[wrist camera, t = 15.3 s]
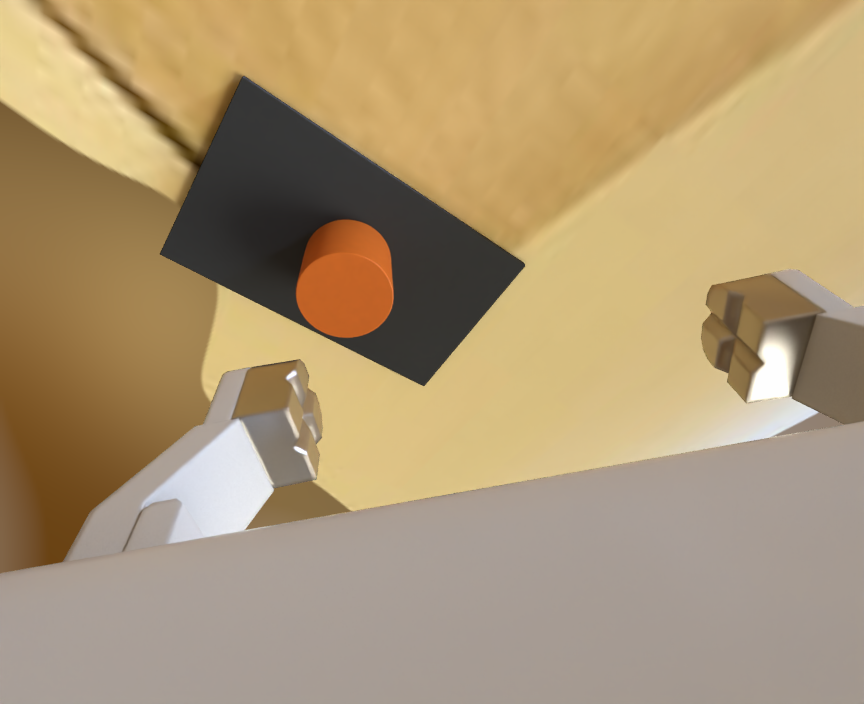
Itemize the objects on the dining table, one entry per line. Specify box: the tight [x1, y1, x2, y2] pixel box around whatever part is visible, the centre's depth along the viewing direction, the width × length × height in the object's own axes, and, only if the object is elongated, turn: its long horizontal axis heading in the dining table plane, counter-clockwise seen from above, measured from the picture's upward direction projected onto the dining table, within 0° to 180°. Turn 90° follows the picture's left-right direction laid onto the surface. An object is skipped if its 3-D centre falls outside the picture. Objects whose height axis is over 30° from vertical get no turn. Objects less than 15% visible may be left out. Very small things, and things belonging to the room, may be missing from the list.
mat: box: [160, 76, 525, 386], centre depth 35 cm, size 20×12×1 cm, turn 55°
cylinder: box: [296, 220, 394, 338], centre depth 33 cm, size 6×6×5 cm
